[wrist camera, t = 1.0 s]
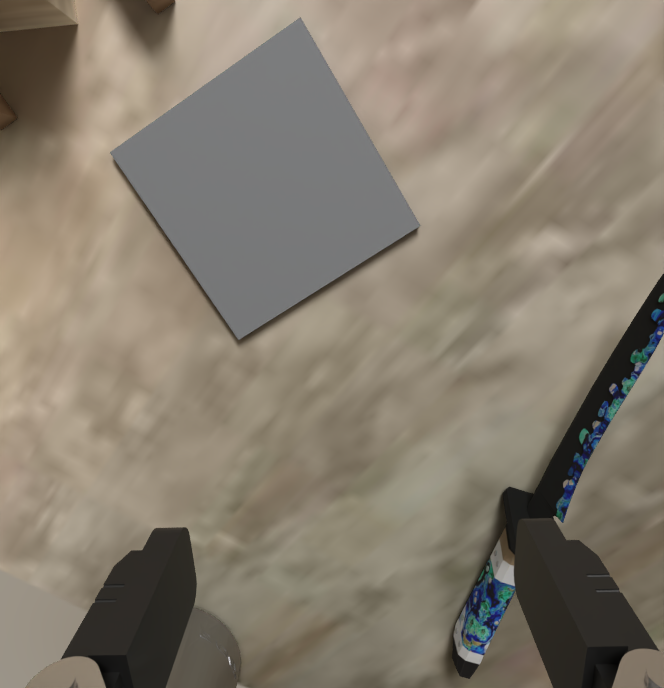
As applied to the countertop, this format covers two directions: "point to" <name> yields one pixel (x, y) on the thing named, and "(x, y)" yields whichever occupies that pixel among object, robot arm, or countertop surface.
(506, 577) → the knife
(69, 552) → the countertop surface
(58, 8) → the ash block
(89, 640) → the robot arm
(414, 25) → the countertop surface
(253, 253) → the pad
